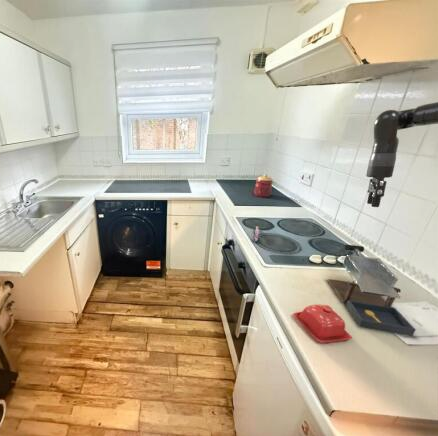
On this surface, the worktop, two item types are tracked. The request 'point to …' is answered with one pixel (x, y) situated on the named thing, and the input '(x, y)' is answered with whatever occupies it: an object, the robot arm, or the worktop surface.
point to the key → (371, 315)
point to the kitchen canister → (263, 186)
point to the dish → (370, 273)
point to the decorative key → (256, 233)
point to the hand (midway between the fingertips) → (372, 205)
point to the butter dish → (323, 323)
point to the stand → (358, 293)
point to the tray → (380, 318)
